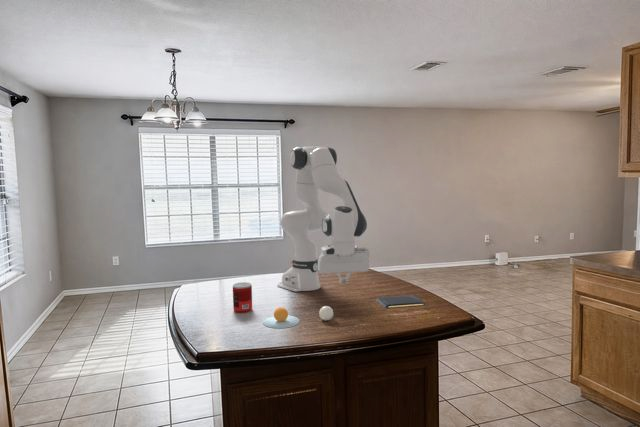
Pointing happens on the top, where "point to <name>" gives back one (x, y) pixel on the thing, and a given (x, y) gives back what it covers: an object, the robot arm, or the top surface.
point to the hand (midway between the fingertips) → (343, 282)
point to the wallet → (400, 301)
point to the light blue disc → (287, 323)
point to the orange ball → (280, 314)
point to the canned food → (242, 297)
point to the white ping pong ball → (326, 313)
